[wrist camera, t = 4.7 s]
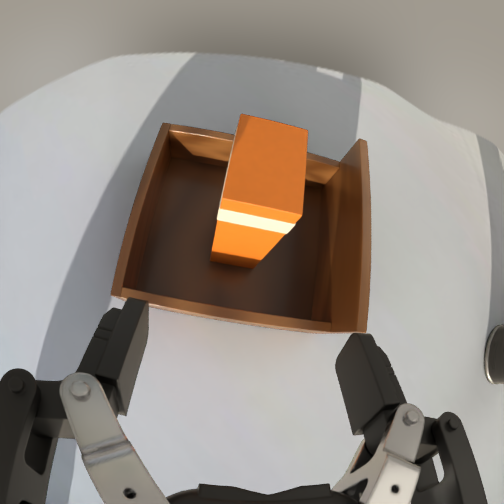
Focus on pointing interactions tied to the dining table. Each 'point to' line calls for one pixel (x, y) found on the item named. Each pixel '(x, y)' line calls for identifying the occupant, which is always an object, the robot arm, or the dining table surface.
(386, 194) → the dining table surface
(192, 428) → the dining table surface
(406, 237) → the dining table surface
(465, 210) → the dining table surface
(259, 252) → the packet
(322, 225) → the drawer
